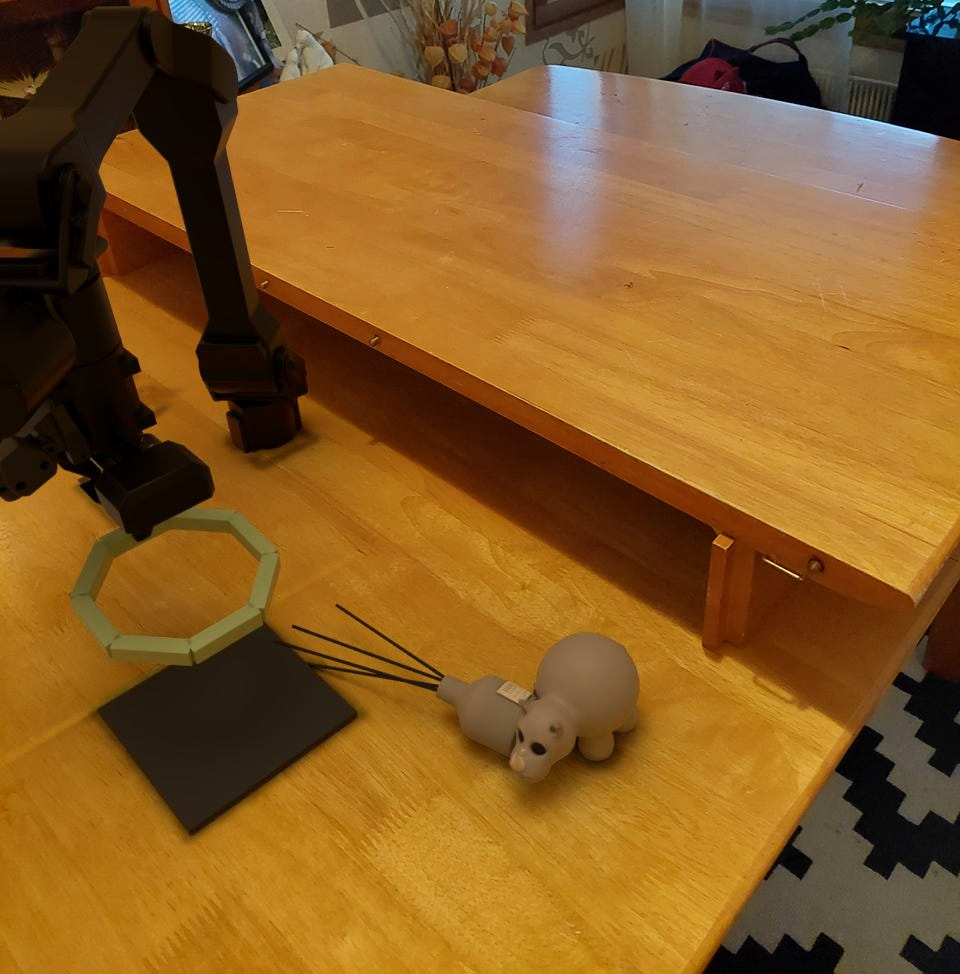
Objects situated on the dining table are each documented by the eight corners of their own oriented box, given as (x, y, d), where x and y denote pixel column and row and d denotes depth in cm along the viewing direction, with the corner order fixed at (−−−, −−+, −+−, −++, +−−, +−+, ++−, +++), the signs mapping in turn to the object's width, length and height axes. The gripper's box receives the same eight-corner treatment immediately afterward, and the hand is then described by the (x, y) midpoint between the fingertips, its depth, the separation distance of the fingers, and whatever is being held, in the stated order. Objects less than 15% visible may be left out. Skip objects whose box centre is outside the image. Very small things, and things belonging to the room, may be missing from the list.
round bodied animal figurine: (472, 774, 65) (466, 697, 60) (576, 672, 72) (579, 595, 66) (552, 836, 61) (553, 760, 56) (654, 722, 68) (664, 644, 63)
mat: (257, 618, 77) (255, 613, 77) (358, 716, 69) (357, 711, 69) (99, 714, 70) (96, 709, 70) (191, 835, 62) (188, 830, 62)
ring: (213, 495, 72) (210, 482, 71) (312, 595, 65) (311, 582, 64) (48, 578, 65) (42, 565, 64) (140, 699, 59) (135, 686, 58)
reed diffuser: (517, 731, 60) (273, 606, 67) (491, 815, 62) (258, 685, 69) (572, 670, 69) (352, 565, 76) (547, 745, 71) (336, 637, 78)
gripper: (-108, 341, 60) (-19, 525, 69) (1, 464, 49) (88, 662, 58) (60, 285, 65) (120, 462, 75) (191, 383, 54) (241, 576, 64)
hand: (138, 533), depth 68 cm, fingers closed on ring, 1 cm apart
